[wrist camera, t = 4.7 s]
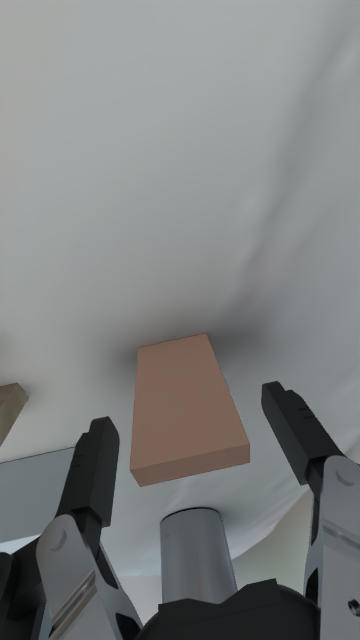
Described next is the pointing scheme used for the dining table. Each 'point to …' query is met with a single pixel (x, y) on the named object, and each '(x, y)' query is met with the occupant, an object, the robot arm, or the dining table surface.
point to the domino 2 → (183, 414)
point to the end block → (30, 496)
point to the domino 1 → (10, 407)
